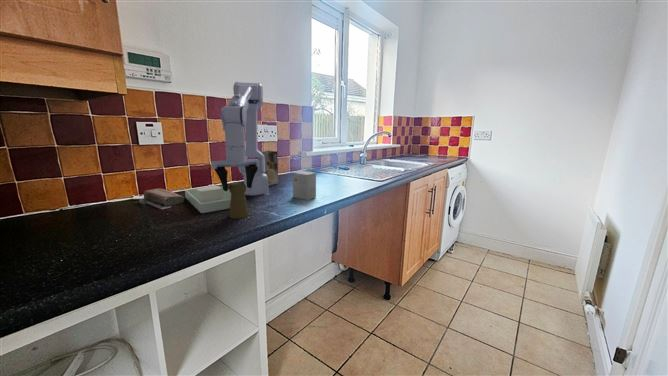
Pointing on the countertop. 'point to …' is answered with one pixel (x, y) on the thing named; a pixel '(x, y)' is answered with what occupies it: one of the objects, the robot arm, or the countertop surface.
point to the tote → (209, 205)
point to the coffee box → (271, 166)
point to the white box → (209, 193)
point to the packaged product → (161, 198)
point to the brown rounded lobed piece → (238, 201)
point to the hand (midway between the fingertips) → (237, 189)
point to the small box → (304, 185)
